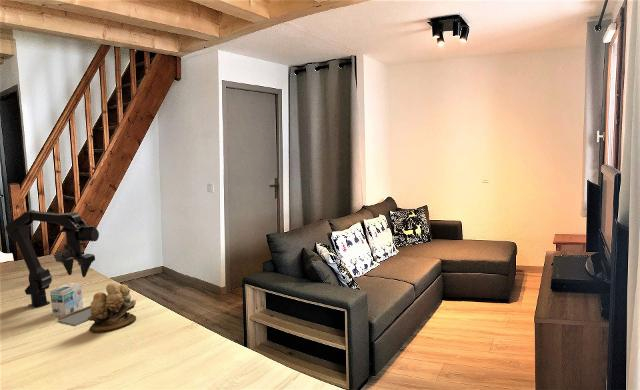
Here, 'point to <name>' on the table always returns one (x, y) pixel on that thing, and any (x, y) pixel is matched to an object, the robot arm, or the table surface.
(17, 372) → the table surface
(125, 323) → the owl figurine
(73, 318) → the rubber mat
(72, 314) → the walnut kerb
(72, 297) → the light bulb box
